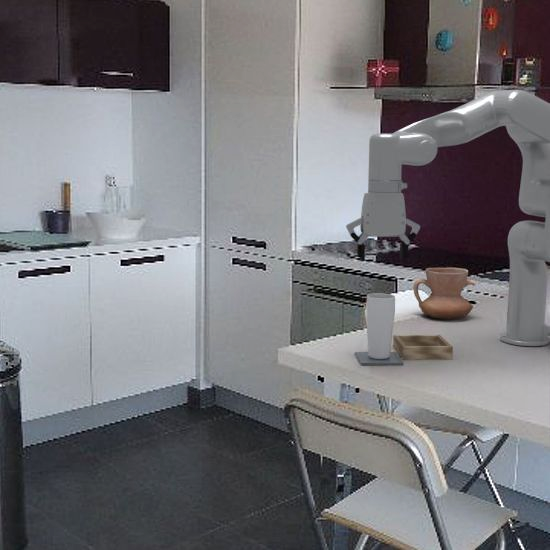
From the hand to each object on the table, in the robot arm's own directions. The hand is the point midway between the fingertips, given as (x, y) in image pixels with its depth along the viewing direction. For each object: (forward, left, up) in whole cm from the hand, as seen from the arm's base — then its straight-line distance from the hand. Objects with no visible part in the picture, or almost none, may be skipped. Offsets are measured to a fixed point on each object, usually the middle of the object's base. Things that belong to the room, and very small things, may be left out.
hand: (382, 260), depth 199 cm
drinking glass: (0, 0, -24) cm, 24 cm away
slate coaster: (0, 0, -24) cm, 24 cm away
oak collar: (-12, -6, -24) cm, 27 cm away
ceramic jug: (-28, -46, -24) cm, 59 cm away
